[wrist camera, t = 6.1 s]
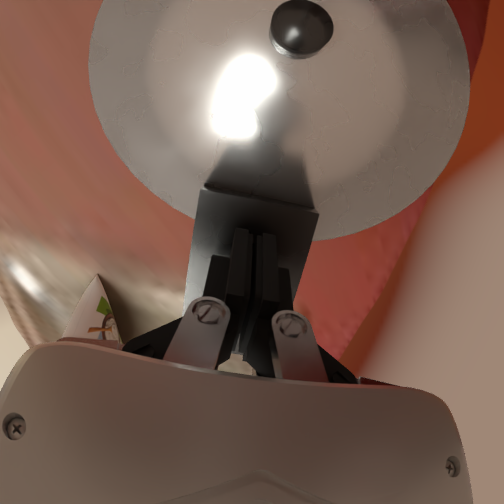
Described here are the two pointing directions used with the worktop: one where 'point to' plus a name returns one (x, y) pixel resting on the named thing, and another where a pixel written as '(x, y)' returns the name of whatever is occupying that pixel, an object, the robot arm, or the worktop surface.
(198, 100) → the cooker lid
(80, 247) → the worktop surface
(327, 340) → the worktop surface
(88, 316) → the pouch
